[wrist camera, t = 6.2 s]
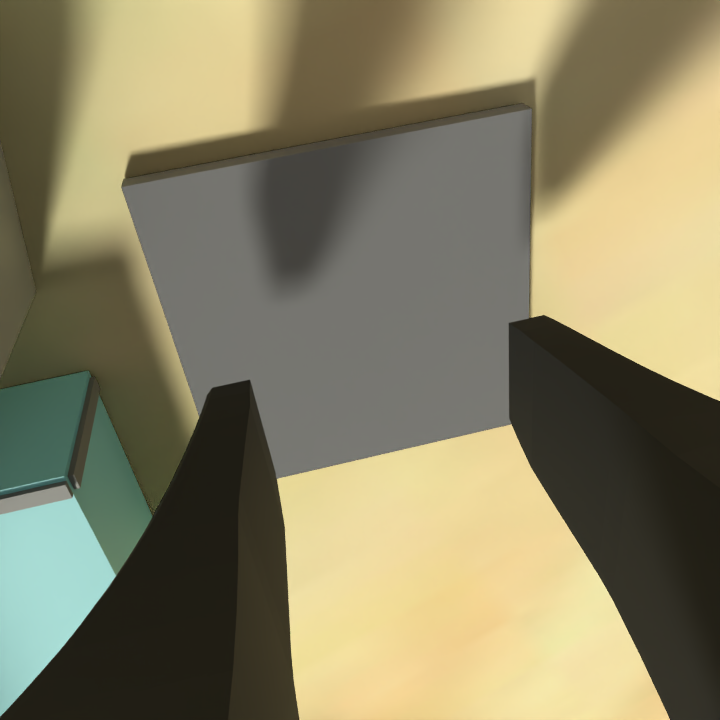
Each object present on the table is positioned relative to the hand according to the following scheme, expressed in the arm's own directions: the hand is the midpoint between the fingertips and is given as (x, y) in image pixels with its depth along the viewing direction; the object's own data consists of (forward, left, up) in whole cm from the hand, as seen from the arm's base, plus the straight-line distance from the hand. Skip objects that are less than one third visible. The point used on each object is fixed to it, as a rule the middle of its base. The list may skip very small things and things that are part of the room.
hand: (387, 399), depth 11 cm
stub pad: (0, 0, -3) cm, 3 cm away
